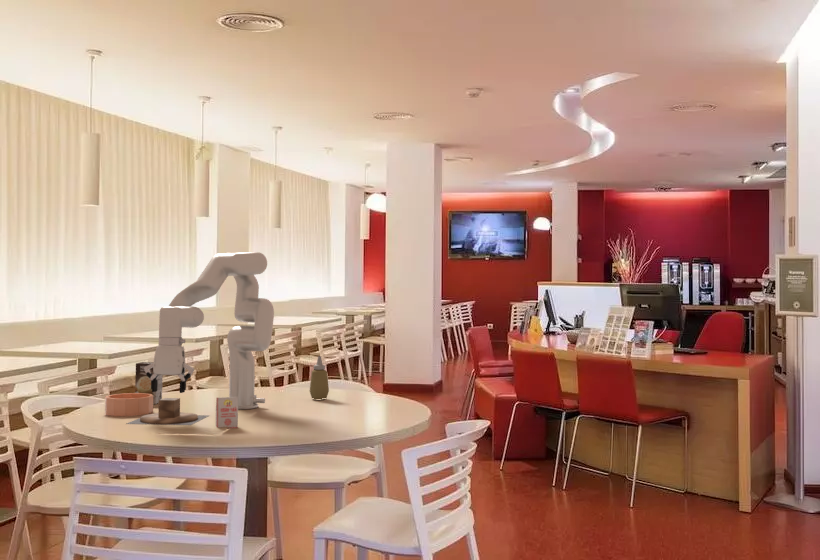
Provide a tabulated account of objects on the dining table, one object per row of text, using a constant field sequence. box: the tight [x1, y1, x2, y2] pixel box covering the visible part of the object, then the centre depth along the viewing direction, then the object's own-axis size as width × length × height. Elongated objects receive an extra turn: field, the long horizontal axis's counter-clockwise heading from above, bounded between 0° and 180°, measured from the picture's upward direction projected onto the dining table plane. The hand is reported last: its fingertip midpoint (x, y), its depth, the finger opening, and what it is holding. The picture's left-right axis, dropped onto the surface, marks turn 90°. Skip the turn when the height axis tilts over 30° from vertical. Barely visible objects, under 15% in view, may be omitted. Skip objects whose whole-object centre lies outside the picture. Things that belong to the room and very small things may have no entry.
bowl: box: [104, 392, 154, 417], centre depth 280 cm, size 16×16×6 cm
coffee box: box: [134, 361, 164, 405], centre depth 308 cm, size 9×6×16 cm
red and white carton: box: [215, 396, 239, 429], centre depth 254 cm, size 4×7×10 cm, turn 109°
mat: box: [126, 414, 210, 426], centre depth 265 cm, size 22×20×1 cm
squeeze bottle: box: [309, 356, 330, 399], centre depth 322 cm, size 8×8×18 cm
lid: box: [139, 397, 198, 425], centre depth 265 cm, size 19×19×7 cm
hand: (168, 392), depth 265 cm, fingers open, 9 cm apart
